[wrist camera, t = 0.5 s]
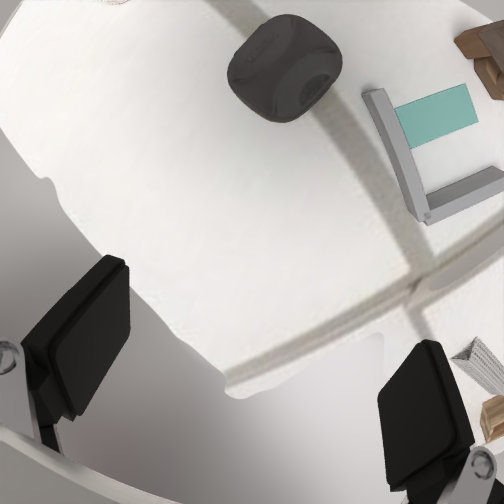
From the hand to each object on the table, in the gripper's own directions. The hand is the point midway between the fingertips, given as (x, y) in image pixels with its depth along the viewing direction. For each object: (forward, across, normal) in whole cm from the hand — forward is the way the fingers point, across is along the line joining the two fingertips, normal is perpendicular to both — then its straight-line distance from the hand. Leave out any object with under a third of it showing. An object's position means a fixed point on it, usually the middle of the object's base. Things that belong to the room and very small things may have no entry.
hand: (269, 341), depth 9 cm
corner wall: (+35, -20, -9) cm, 41 cm away
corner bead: (+36, -60, +31) cm, 77 cm away
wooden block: (+36, -23, -23) cm, 49 cm away
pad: (+35, -19, -12) cm, 42 cm away
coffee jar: (+36, +3, -9) cm, 37 cm away
